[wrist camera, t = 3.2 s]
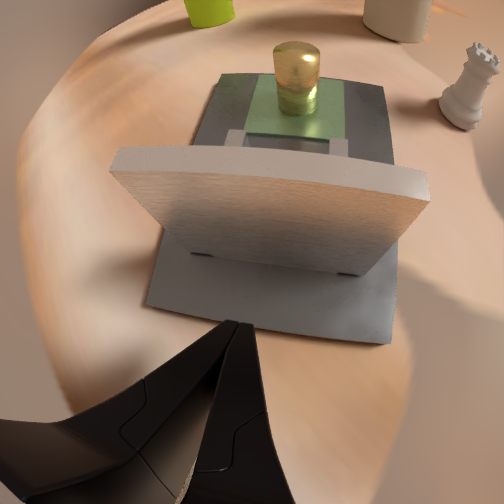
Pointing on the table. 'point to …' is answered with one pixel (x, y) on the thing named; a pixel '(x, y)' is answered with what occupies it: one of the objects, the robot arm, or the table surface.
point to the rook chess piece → (469, 88)
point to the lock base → (277, 275)
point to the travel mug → (398, 18)
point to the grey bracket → (275, 201)
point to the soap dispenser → (209, 12)
